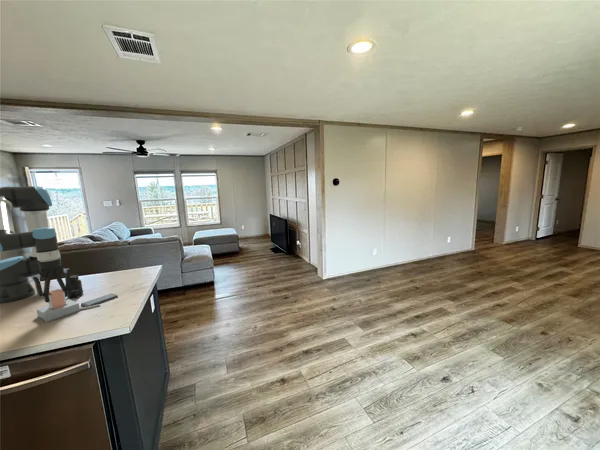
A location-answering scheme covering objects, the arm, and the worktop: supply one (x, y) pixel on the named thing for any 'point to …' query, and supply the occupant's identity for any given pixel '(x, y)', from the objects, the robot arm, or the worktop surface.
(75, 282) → the supplement bottle
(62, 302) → the block
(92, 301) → the phone
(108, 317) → the worktop surface
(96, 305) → the cable
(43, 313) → the outlet plate
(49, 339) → the worktop surface
